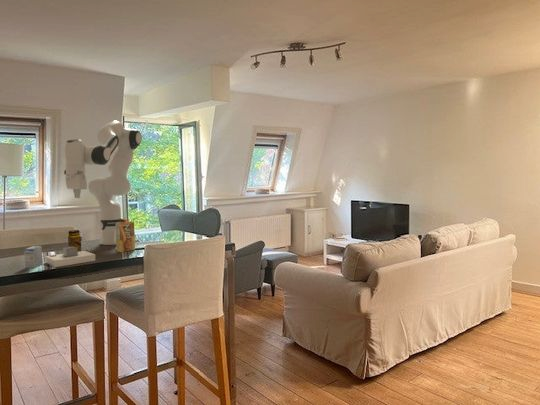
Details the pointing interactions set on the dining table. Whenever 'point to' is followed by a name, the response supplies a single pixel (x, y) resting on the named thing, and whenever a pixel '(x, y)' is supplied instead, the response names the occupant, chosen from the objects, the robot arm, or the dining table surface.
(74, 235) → the condiment
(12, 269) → the dining table surface
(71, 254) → the plug
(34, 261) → the medicine box
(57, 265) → the socket
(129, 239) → the candy box
